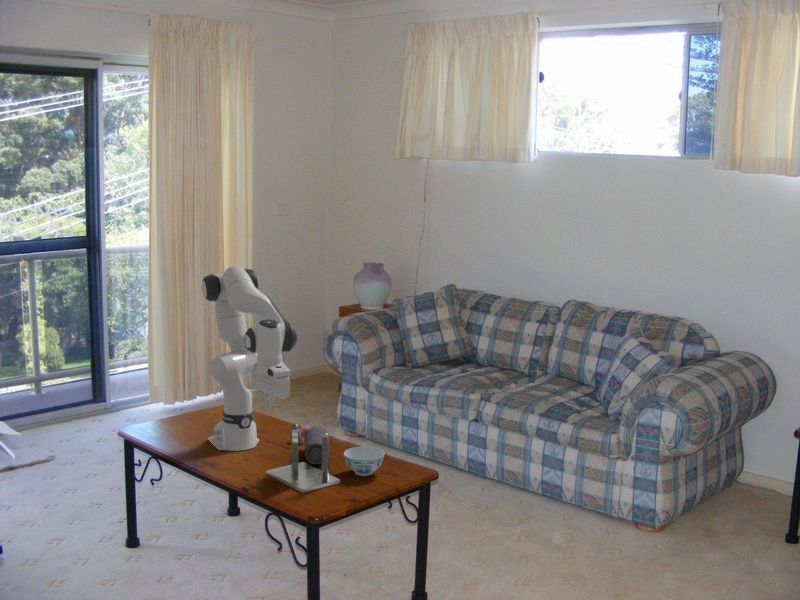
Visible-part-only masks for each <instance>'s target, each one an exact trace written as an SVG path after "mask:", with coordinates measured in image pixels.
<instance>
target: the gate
mask: <svg viewBox="0 0 800 600" xmlns="http://www.w3.org/2000/svg"><path fill="white" fill-rule="evenodd" d="M292 460H293V481H298V463H299V442H298V430H292V435H291V461H292Z"/></svg>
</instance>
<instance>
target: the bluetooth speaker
mask: <svg viewBox="0 0 800 600" xmlns="http://www.w3.org/2000/svg"><path fill="white" fill-rule="evenodd" d="M324 433H327V434H328V435H329V433H328V431H327V429H325V427H323V426H320V425H316V426H312V427H311V429H310V430H309V432H308V434H307V437H306V439H305V440H304V453H305V454H304V455H305V457H306V460H307V461H308V462H309V463H310V464H313V465H320V464H321V465H322V437H323V434H324Z"/></svg>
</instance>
